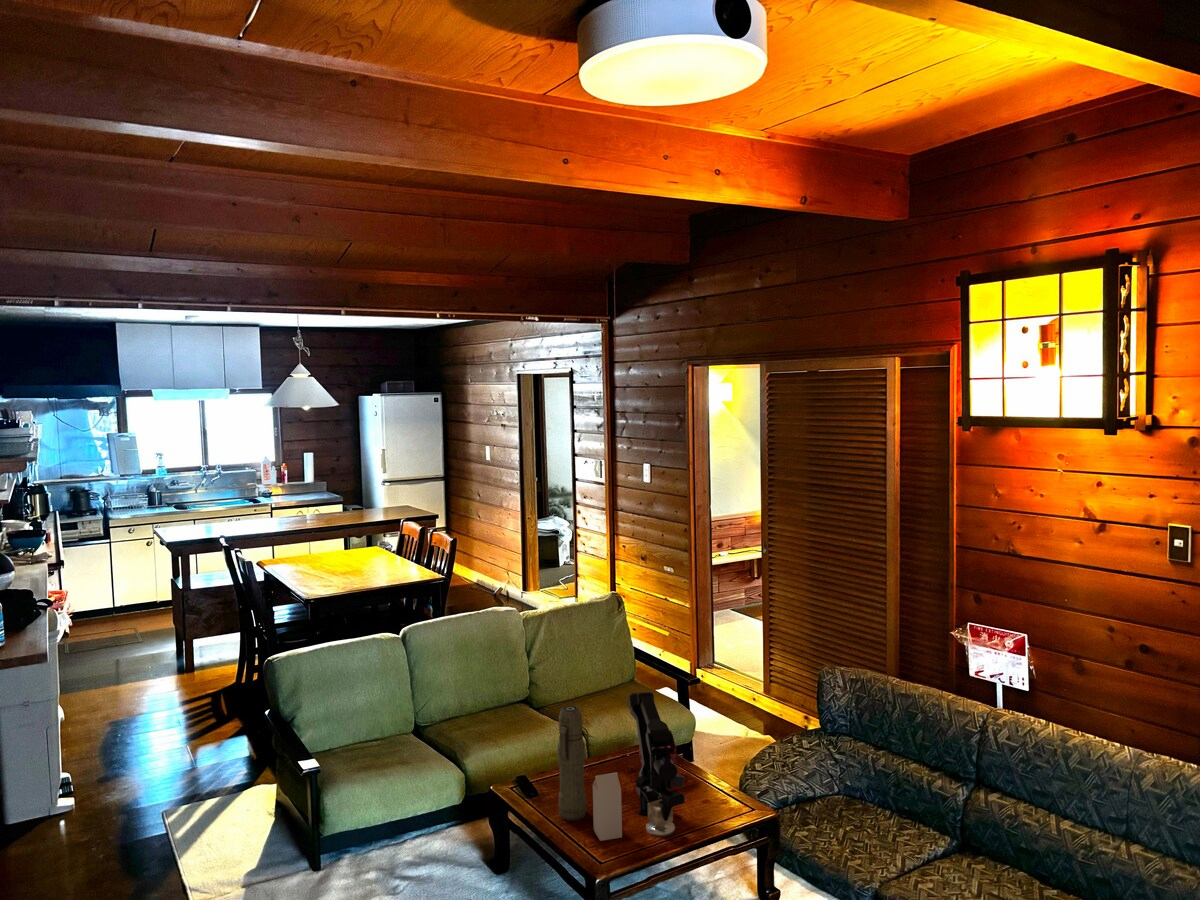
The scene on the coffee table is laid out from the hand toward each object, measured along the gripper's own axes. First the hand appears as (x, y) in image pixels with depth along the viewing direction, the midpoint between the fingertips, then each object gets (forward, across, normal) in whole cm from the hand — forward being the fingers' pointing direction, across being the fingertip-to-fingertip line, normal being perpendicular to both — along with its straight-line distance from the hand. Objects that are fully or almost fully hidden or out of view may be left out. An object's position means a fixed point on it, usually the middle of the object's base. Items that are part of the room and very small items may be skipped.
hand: (660, 816), depth 277 cm
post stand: (+4, 0, 0) cm, 4 cm away
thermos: (+4, +24, +18) cm, 30 cm away
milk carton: (+4, +6, +15) cm, 17 cm away
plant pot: (+4, +33, -23) cm, 41 cm away
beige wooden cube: (+1, 0, 0) cm, 1 cm away
